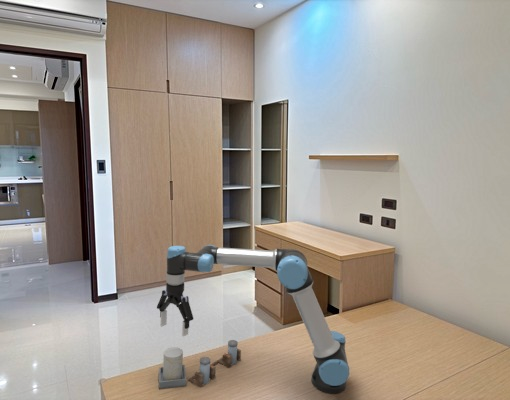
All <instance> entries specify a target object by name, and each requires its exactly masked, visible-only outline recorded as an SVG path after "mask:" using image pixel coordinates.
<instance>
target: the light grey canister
mask: <svg viewBox="0 0 510 400" xmlns="http://www.w3.org/2000/svg"><path fill="white" fill-rule="evenodd" d="M183 356H184V350H183V349H182V348H180V347H174V346H173V347H169V348H167V349H165V350H164V351H163V359H162V360H163V361H162V363H163V365H162V367H163V381H169V380H178V379H182V365H183V361H184V359H183Z"/></svg>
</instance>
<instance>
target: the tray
mask: <svg viewBox="0 0 510 400" xmlns="http://www.w3.org/2000/svg"><path fill="white" fill-rule="evenodd" d="M186 386H187V374H186V365H185V364H182V379H178V380H169V381H163V366H159V368H158V390H162V389H164V390H165V389H173V388H180V387H186Z"/></svg>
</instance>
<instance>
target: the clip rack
mask: <svg viewBox="0 0 510 400" xmlns="http://www.w3.org/2000/svg"><path fill="white" fill-rule="evenodd" d="M241 356H242V350H241V349H239V348H237V361H238V362H239V361H241V358H242V357H241ZM231 363H232V356H230V355H228V353H225V352H224V354H222V357H220V358H218V359H217V360H215V361H214V362H212V363H210V377H209V380H214V379H215V378H216V371H217V369H216V365H218V364H219V365H221V366H223V367H226V368H227V369H229V368H231V367H232V365H231ZM187 381H188V382H190V383H191V384H193V385H195V386H196V387H200V388H203V387H204V384H203V375H202V374H200V371H196V372H194V375H192V376H191V377H189V378H188V380H187Z"/></svg>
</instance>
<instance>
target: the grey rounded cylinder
mask: <svg viewBox="0 0 510 400" xmlns="http://www.w3.org/2000/svg"><path fill="white" fill-rule="evenodd" d="M210 364H211V358H210V357H209V356H202V357H200V358H199V372H200V374H202V375H203V385H208V384H209V383H210V378H209V377H210Z"/></svg>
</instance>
